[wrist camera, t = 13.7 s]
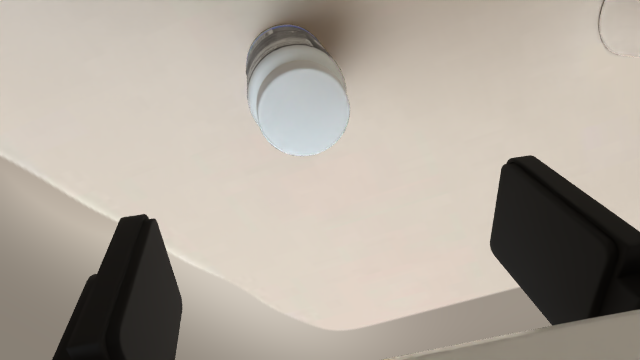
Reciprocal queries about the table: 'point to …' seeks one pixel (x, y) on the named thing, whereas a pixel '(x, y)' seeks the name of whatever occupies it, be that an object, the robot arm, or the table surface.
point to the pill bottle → (296, 91)
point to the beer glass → (621, 27)
